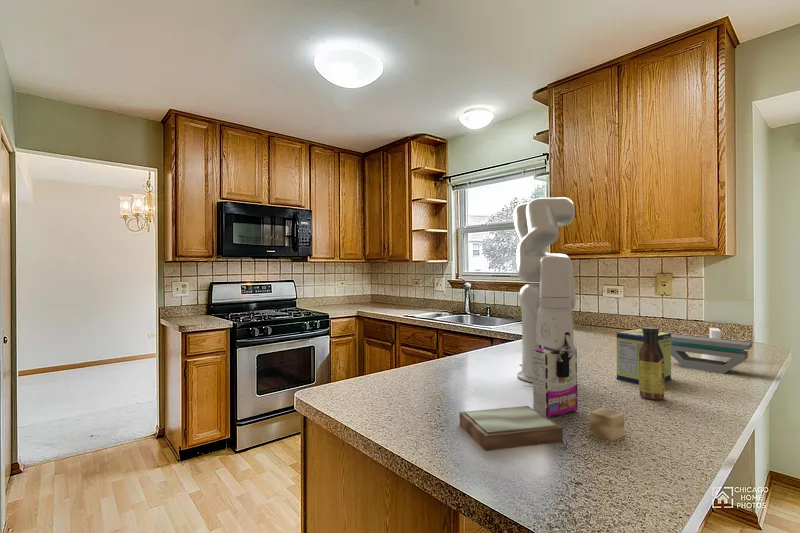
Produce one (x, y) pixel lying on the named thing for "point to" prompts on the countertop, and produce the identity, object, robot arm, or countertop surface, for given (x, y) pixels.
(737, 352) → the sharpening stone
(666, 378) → the protein box
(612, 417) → the oak block
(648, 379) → the sauce bottle
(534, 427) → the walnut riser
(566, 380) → the candy bar box
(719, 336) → the base with upright slab
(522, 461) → the countertop surface
